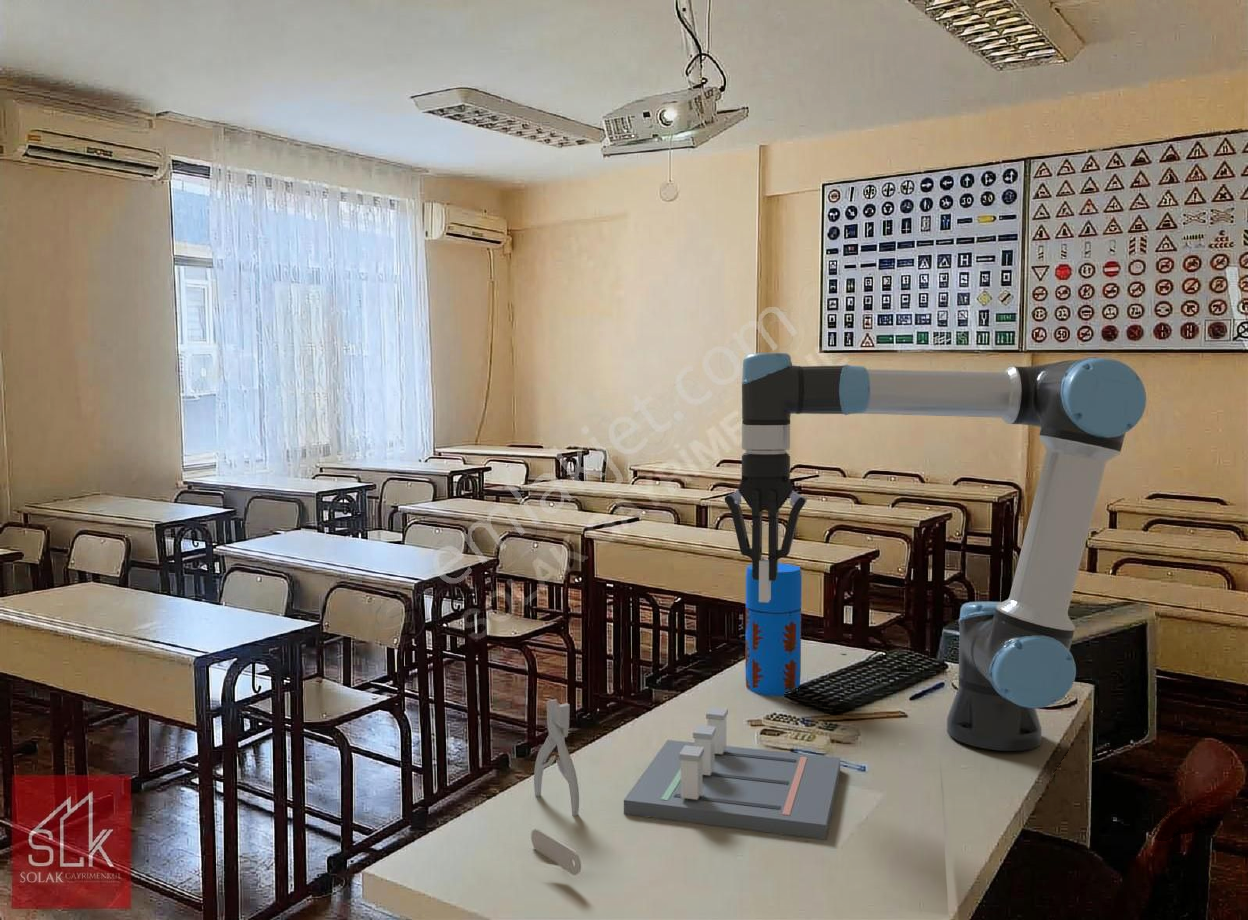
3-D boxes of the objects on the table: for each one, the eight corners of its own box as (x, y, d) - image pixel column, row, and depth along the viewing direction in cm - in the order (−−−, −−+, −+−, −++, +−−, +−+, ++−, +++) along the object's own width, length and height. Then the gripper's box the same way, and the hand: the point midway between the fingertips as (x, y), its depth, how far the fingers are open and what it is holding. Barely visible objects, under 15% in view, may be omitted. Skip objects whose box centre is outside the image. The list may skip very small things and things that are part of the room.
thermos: (798, 684, 198) (799, 563, 196) (802, 701, 187) (803, 572, 185) (744, 683, 199) (745, 562, 197) (745, 699, 188) (746, 572, 186)
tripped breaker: (716, 767, 147) (716, 726, 147) (711, 776, 144) (711, 734, 143) (698, 765, 148) (698, 724, 147) (692, 773, 144) (692, 732, 144)
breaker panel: (840, 770, 152) (840, 756, 152) (825, 839, 128) (825, 823, 128) (667, 751, 160) (667, 739, 160) (623, 813, 137) (623, 799, 136)
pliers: (584, 813, 137) (583, 709, 136) (575, 816, 136) (574, 711, 135) (542, 792, 144) (542, 693, 143) (534, 794, 143) (533, 695, 142)
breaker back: (727, 746, 156) (728, 708, 155) (723, 754, 152) (723, 715, 152) (710, 745, 156) (710, 706, 156) (706, 752, 153) (706, 713, 153)
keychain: (583, 876, 119) (582, 853, 119) (579, 878, 119) (578, 854, 118) (535, 846, 127) (534, 824, 127) (531, 847, 127) (530, 825, 126)
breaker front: (704, 790, 138) (704, 747, 138) (698, 800, 135) (698, 756, 135) (684, 787, 139) (685, 745, 139) (679, 797, 136) (679, 753, 135)
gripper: (810, 451, 154) (808, 598, 155) (729, 450, 158) (728, 593, 159) (805, 453, 147) (803, 607, 148) (720, 452, 150) (719, 602, 152)
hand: (764, 600), depth 154 cm, fingers closed
